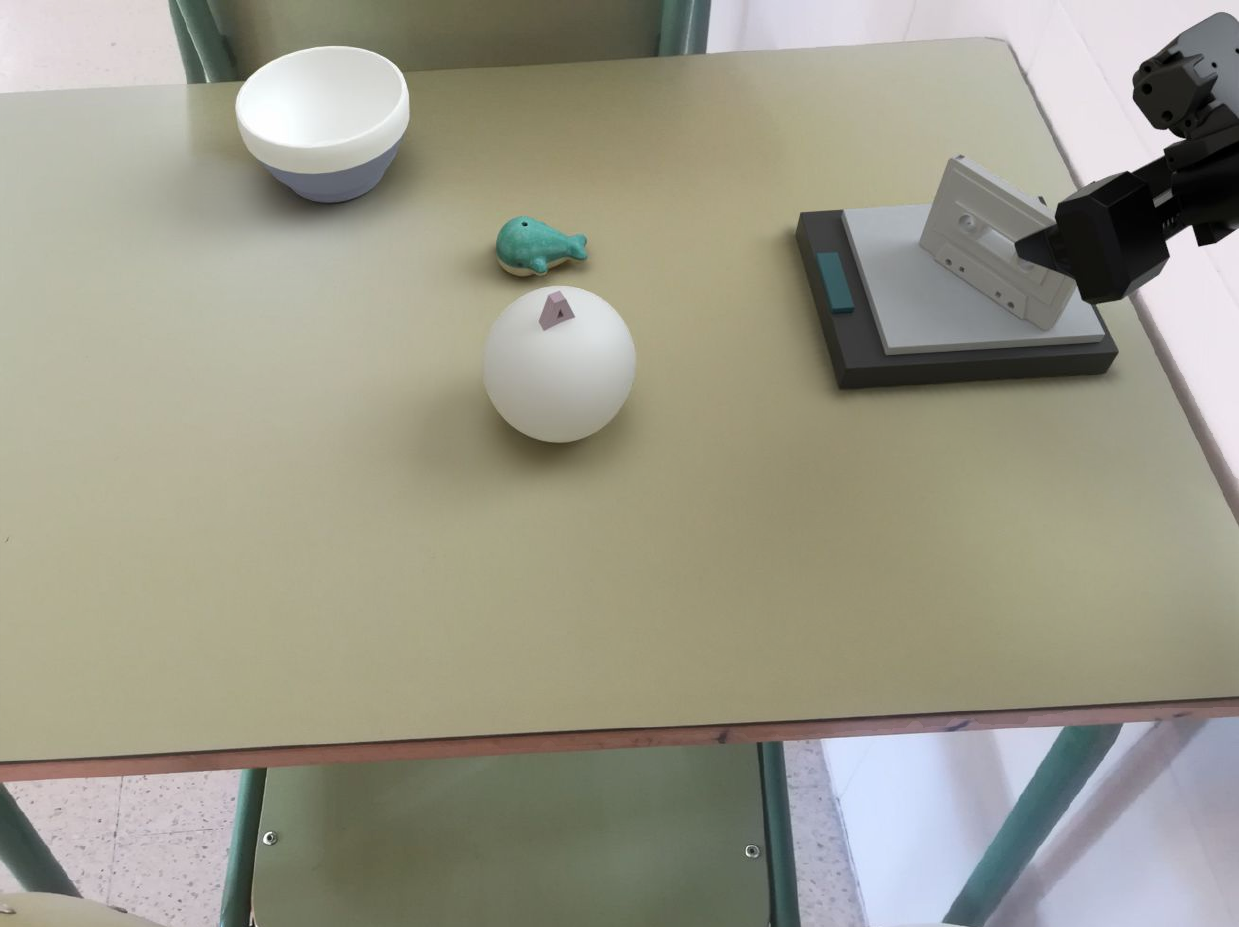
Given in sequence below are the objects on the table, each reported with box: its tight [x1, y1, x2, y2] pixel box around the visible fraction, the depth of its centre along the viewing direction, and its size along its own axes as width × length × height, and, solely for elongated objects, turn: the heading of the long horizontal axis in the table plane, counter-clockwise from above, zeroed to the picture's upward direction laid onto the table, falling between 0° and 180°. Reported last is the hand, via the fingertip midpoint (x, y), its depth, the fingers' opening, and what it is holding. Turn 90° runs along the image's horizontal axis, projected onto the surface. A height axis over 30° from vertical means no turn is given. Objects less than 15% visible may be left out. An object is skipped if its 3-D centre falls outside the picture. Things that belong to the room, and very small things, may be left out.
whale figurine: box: [495, 215, 588, 277], centre depth 84 cm, size 6×7×4 cm
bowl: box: [234, 45, 410, 204], centre depth 90 cm, size 14×14×8 cm
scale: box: [794, 195, 1120, 390], centre depth 79 cm, size 19×17×3 cm
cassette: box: [919, 153, 1077, 331], centre depth 73 cm, size 12×2×8 cm, turn 35°
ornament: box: [481, 285, 637, 444], centre depth 71 cm, size 10×10×12 cm
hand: (1065, 219), depth 68 cm, fingers open, 9 cm apart
